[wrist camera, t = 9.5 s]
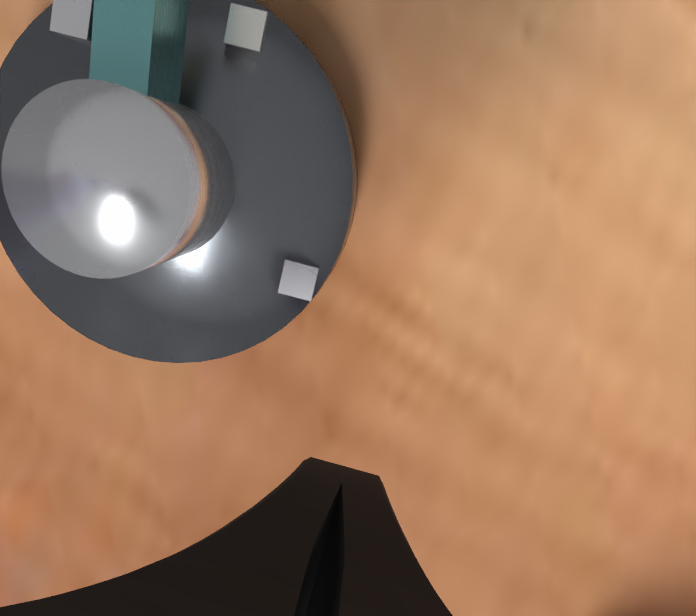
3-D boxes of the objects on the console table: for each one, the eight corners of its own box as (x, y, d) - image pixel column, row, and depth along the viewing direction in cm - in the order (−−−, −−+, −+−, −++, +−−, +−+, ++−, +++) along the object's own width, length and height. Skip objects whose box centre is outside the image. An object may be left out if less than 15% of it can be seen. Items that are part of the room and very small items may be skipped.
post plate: (-4, 300, 20) (-116, 336, 16) (35, -53, 18) (-86, -126, 13) (311, 386, 20) (284, 446, 16) (398, 36, 17) (395, -9, 13)
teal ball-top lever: (224, 269, 18) (179, 294, 14) (78, 242, 18) (-2, 260, 14) (271, -123, 15) (230, -212, 12) (103, -148, 15) (14, -241, 12)
